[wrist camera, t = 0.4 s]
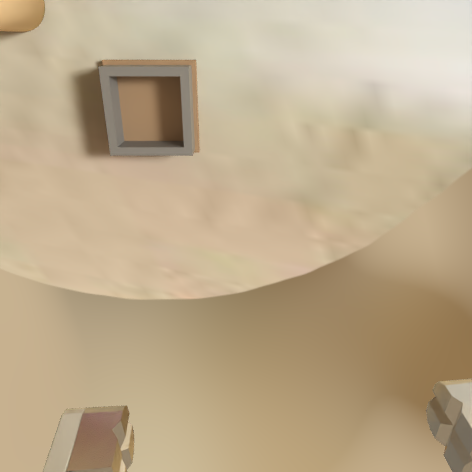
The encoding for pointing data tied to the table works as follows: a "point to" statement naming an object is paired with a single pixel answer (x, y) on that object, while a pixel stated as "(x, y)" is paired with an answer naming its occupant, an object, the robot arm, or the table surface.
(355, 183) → the table surface
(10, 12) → the tan rounded cylinder
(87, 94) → the table surface
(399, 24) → the table surface
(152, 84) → the roll holder
